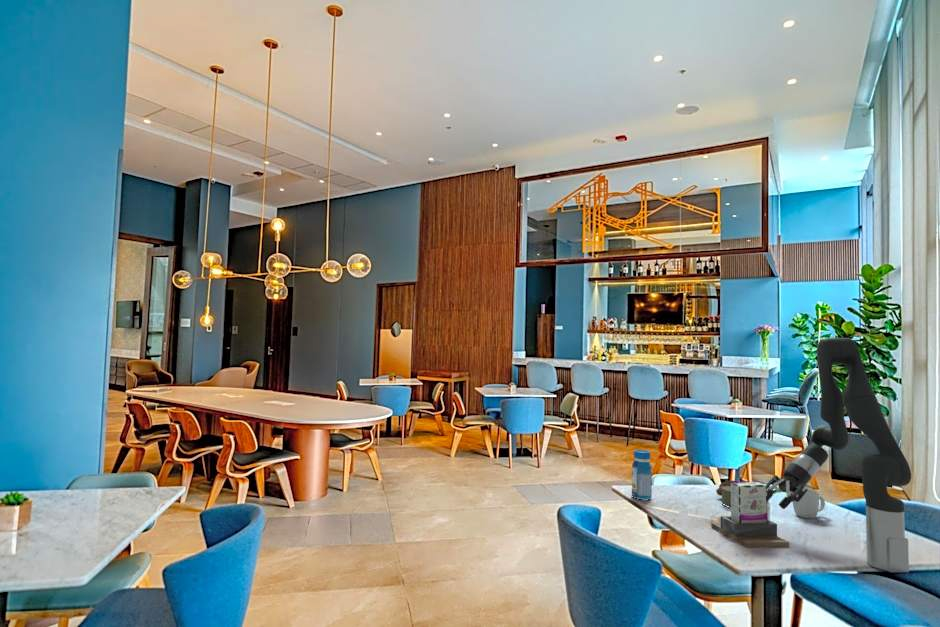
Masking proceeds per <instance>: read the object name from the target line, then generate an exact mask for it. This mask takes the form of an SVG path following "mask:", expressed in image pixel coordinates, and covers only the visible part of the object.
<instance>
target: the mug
mask: <svg viewBox="0 0 940 627" xmlns="http://www.w3.org/2000/svg"><path fill="white" fill-rule="evenodd" d="M807 489H808V491H807V492H806V493H805V494H804V496H803V497H802V498H801V499H800V501H799V502H796V501H793V502H792V507H793V511H794V513H795V515H796V516H798V517H800V518H805V519H816V517H817V516H818V513H820V512H822V511H823V510H824V508H825V506H826V503H825V502H826V501H825V499H824V497H823V496H822V495H820V492H819V491H817V490H814V489H811V488H807ZM796 497H798V494H797V496H796Z"/></svg>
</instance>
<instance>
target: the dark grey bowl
mask: <svg viewBox="0 0 940 627" xmlns="http://www.w3.org/2000/svg"><path fill="white" fill-rule="evenodd" d="M721 489H722V496H721V504H722V503H723V504H725V505H727V506H729V507H731V486H722V487H721ZM729 507H728V508H729Z"/></svg>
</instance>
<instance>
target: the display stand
mask: <svg viewBox="0 0 940 627" xmlns="http://www.w3.org/2000/svg"><path fill="white" fill-rule="evenodd" d="M710 524H711V526H710V527H711V528H712V529H714V530H715V531H717V532H719V533H721V534H723V535H725V536H726V537H728V538H730V539H732V540H734V541H735V542H737V543H739V544H741V545H742V546H744V547H746V548H786V547H787V548H788V547H790V541H788V540H786V539H784V538H781V537H780V536H778V524H777V523H775V522H774V521H772V520H769V519H768V523H736V522H734V521H732V520H731V515H729V516H728V515H721V516H720V522H711V523H710Z"/></svg>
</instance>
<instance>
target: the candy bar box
mask: <svg viewBox="0 0 940 627" xmlns="http://www.w3.org/2000/svg"><path fill="white" fill-rule="evenodd" d="M730 484H731V508H730V516H731V520H732V521H734V522H736V523H768V520H769V519H768V517H769V516H768V502H767V485H766V484H765V483H762V482H758V481H753V482H752V481H749V482H748V481H747V482H743V483H730Z"/></svg>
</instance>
